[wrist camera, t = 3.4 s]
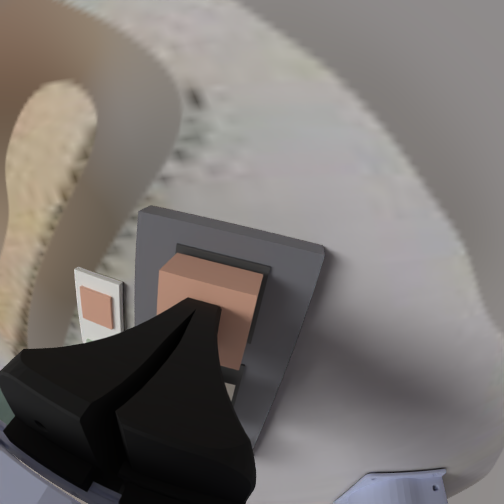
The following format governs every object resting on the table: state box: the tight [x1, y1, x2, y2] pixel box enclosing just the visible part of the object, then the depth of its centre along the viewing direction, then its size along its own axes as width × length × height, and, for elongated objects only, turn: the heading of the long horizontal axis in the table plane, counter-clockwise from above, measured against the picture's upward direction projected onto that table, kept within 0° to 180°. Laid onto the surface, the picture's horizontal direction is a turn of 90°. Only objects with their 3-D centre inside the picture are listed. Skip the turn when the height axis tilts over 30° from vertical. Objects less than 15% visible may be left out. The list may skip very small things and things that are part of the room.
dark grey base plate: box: [135, 205, 325, 450], centre depth 16 cm, size 8×17×1 cm, turn 169°
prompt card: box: [74, 267, 124, 343], centre depth 16 cm, size 3×8×1 cm, turn 169°
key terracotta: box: [157, 253, 263, 370], centre depth 12 cm, size 4×4×2 cm
